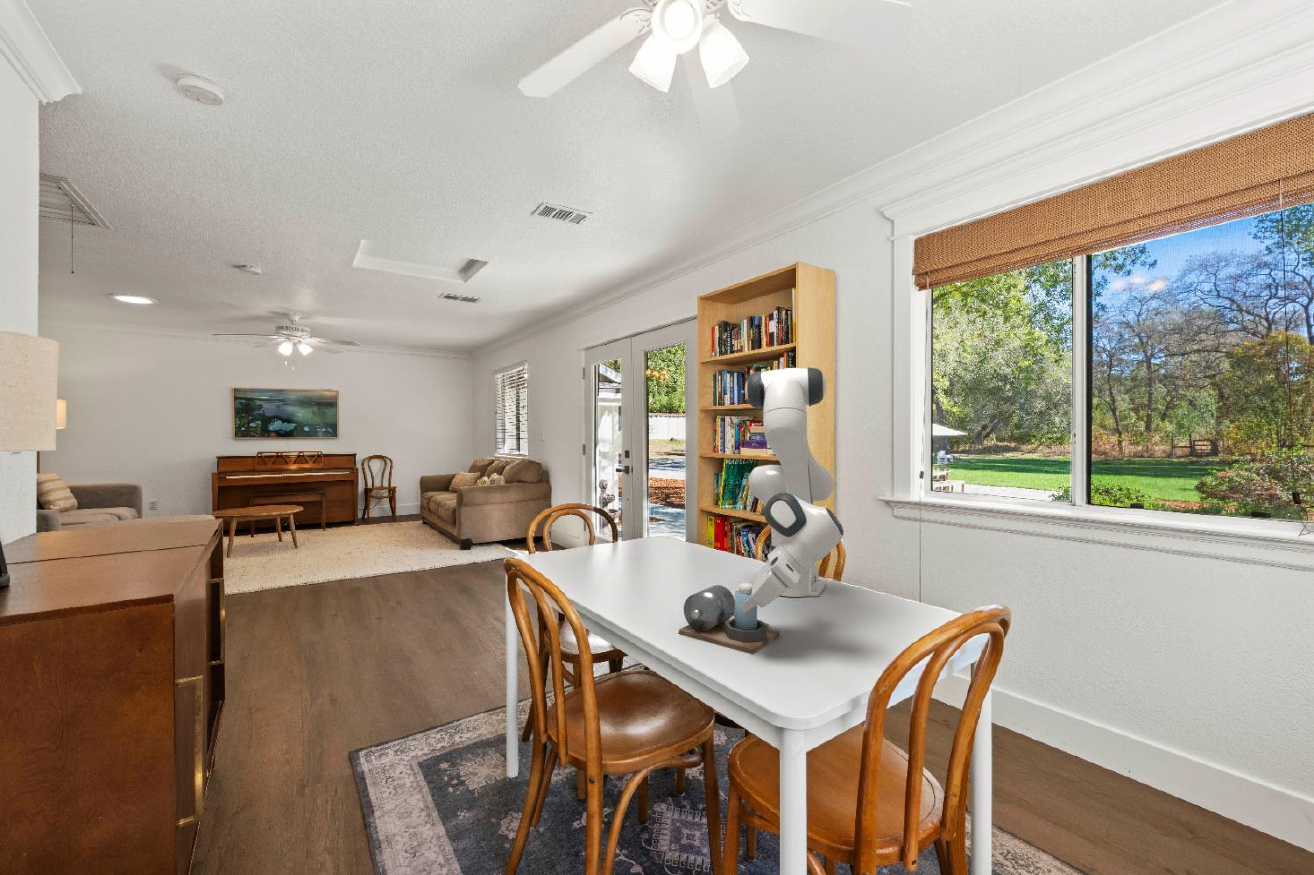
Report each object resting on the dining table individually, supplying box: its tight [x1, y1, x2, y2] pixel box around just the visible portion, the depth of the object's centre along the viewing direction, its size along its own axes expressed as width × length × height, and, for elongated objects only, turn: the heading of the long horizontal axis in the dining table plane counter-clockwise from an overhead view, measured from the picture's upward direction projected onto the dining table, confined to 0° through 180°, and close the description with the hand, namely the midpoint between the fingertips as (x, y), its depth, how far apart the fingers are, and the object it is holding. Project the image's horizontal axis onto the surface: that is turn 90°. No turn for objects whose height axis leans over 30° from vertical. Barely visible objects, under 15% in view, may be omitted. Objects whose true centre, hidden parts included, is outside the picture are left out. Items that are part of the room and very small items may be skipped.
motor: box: [683, 584, 735, 632], centre depth 137 cm, size 12×9×9 cm
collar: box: [725, 617, 767, 643], centre depth 132 cm, size 9×9×2 cm
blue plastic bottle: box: [734, 582, 758, 630], centre depth 132 cm, size 5×5×12 cm
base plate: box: [678, 619, 780, 655], centre depth 135 cm, size 14×20×1 cm
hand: (743, 603), depth 132 cm, fingers open, 8 cm apart
